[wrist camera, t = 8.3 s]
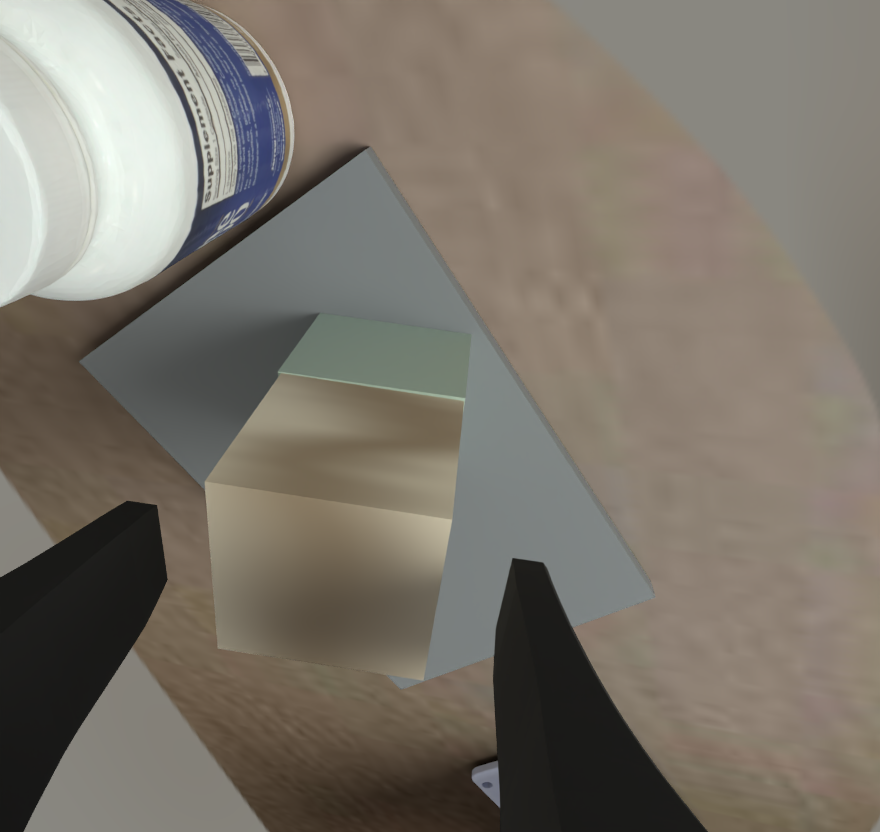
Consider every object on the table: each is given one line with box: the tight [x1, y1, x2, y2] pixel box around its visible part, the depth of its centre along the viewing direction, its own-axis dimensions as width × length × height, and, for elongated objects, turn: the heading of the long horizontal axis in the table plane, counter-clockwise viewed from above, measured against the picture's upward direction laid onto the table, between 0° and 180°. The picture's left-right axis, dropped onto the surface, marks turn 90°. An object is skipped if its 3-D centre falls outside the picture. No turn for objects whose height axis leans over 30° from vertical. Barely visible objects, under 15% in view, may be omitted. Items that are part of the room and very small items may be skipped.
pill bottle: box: [0, 0, 294, 307], centre depth 12 cm, size 5×5×10 cm
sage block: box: [278, 313, 472, 410], centre depth 17 cm, size 4×4×4 cm
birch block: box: [205, 373, 464, 680], centre depth 14 cm, size 4×4×4 cm
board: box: [79, 146, 655, 689], centre depth 21 cm, size 18×12×1 cm, turn 33°
